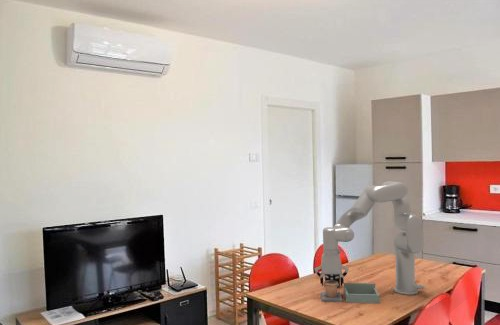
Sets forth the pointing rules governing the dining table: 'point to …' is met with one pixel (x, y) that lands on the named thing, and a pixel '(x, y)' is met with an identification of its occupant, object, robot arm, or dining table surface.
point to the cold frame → (361, 293)
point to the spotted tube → (333, 277)
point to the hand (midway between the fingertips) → (332, 284)
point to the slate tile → (328, 299)
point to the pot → (331, 288)
